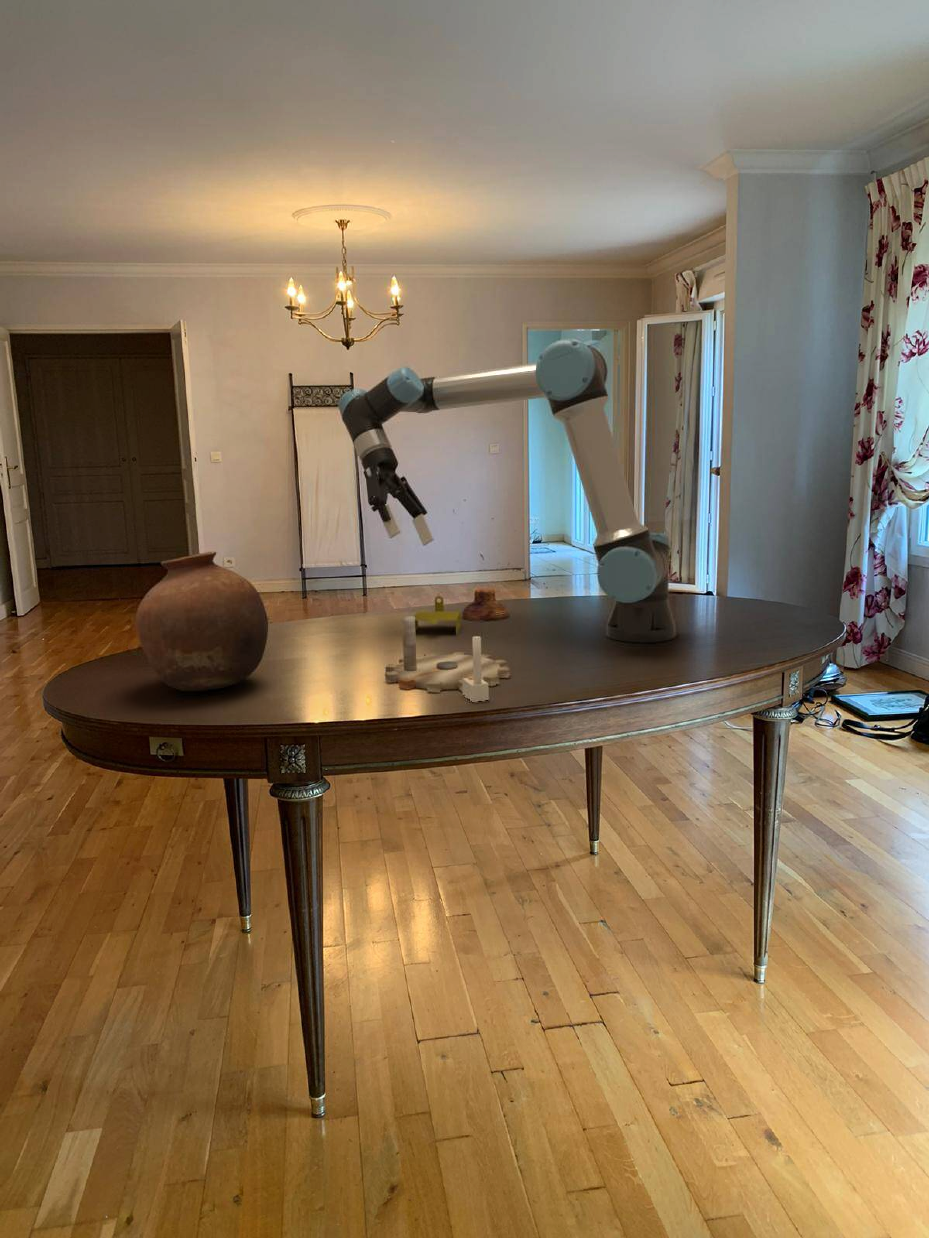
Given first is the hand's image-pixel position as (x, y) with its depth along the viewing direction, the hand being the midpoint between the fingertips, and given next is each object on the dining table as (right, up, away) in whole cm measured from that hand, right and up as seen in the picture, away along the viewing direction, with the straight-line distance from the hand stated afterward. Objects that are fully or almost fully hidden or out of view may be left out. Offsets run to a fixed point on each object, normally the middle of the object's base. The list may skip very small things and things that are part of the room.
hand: (412, 539), depth 187 cm
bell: (+16, -17, +34) cm, 41 cm away
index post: (+13, -31, -36) cm, 49 cm away
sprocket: (+8, -28, -21) cm, 36 cm away
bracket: (+4, -21, +17) cm, 27 cm away
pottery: (-36, -30, -25) cm, 53 cm away
